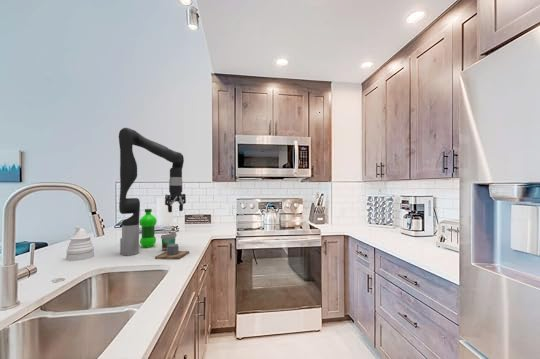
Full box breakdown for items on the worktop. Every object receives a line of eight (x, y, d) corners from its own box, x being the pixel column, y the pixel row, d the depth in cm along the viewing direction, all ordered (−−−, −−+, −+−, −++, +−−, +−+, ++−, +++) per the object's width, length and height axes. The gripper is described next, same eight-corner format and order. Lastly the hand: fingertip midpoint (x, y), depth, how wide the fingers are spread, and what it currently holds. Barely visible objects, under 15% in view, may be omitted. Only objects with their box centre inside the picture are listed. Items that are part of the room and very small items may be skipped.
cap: (179, 254, 155) (179, 244, 155) (169, 255, 152) (169, 246, 152) (176, 252, 160) (176, 243, 160) (165, 253, 156) (165, 244, 156)
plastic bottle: (144, 244, 186) (144, 208, 186) (159, 244, 185) (159, 208, 186) (136, 248, 176) (136, 209, 176) (152, 248, 175) (152, 209, 176)
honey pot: (79, 261, 146) (80, 228, 146) (60, 260, 148) (60, 227, 149) (99, 255, 158) (99, 224, 159) (81, 254, 161) (81, 224, 161)
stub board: (154, 258, 150) (154, 250, 150) (167, 252, 163) (167, 244, 164) (178, 259, 148) (178, 250, 148) (189, 253, 162) (189, 245, 162)
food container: (169, 251, 166) (169, 235, 166) (160, 251, 167) (160, 235, 167) (180, 247, 178) (180, 232, 178) (171, 246, 179) (171, 231, 179)
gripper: (171, 185, 155) (171, 213, 155) (189, 184, 168) (188, 210, 168) (161, 184, 158) (161, 212, 158) (180, 184, 171) (179, 210, 171)
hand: (175, 211), depth 163 cm, fingers open, 8 cm apart
